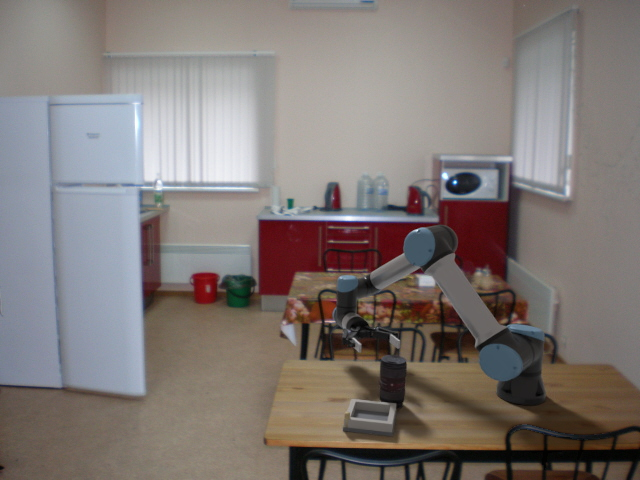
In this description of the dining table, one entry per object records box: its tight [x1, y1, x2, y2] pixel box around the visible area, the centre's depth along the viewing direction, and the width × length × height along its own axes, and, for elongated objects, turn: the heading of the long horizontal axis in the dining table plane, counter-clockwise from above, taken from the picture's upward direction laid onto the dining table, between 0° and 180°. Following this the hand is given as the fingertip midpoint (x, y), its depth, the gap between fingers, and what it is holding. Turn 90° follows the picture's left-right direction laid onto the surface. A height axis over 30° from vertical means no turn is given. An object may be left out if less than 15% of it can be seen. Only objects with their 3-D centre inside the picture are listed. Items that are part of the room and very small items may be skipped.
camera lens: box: [378, 354, 408, 410], centre depth 184 cm, size 8×8×15 cm
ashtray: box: [342, 398, 398, 437], centre depth 173 cm, size 14×14×5 cm
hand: (379, 346), depth 192 cm, fingers open, 13 cm apart
